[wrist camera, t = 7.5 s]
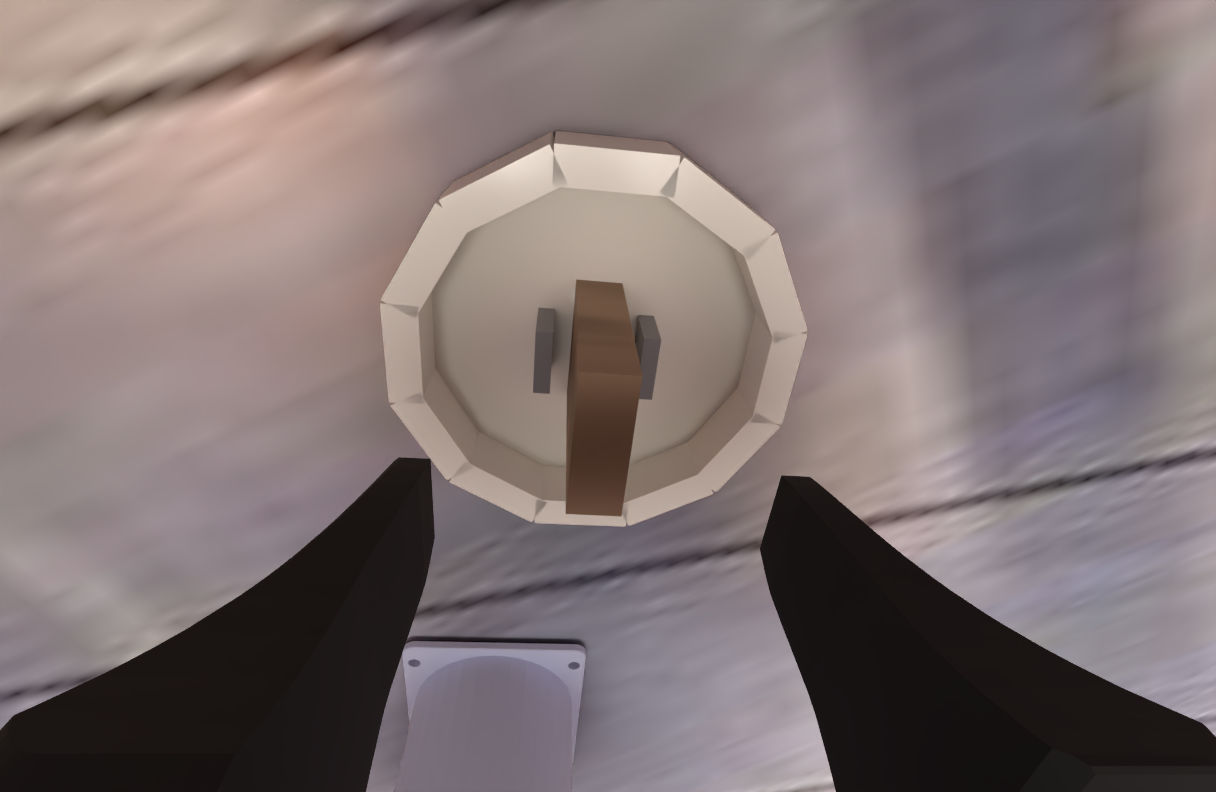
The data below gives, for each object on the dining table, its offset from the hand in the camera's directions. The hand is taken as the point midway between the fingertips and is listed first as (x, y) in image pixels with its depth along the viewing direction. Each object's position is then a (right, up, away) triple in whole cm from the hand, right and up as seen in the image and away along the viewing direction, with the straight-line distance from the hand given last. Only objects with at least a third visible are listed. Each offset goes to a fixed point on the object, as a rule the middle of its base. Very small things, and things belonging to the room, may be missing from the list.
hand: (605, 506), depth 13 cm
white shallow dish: (0, +4, +7) cm, 9 cm away
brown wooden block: (0, +4, +7) cm, 8 cm away
